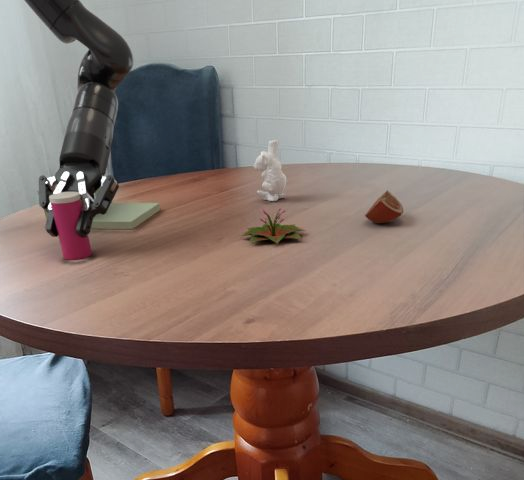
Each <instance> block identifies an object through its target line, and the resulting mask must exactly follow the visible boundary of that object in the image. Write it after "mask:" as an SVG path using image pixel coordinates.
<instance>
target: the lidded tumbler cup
mask: <svg viewBox="0 0 524 480" xmlns="http://www.w3.org/2000/svg"><path fill="white" fill-rule="evenodd" d="M49 200H50V202H51V207H52V211H53V215H54V219H55V223H56V228H57V232H58V236H57V237H58V240H59V243H60V249H61V253H62V257H63V259H65V260H74V261H75V260H81V259H85V258H88V257H90V256H91V255H92V254H93V251H92V248H91V241H90V238H89V234H87V237H86V238H82V237H80V236H79V235H78V234H77V233H76V227H77V223H78V219H79V214H80V211H83V209H82V204H81V199H80V193H79V192H61V193H56V194H53V195H50V196H49Z"/></svg>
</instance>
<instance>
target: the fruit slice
mask: <svg viewBox="0 0 524 480" xmlns="http://www.w3.org/2000/svg"><path fill="white" fill-rule="evenodd" d="M403 214H404V206H403V204H402V203H401V202H400V201H399V200H398V199H397V198H396V196H394V195H393V194H392V193H391V192H390V191H389V190H388V189H387V190H386V191H384V193H383V194H382V195H380V196H379V197H378V198H377V199H376V200H375V202H374V203H373V204H372V205H371V207H370V208H369V209H368V211H366V213H365V215H364V216H365V218H367V220H369V221H370V222H372V223H374V224H386V223H389V222H393V221H394V220H396V219H397V218H400V217H401V216H402V215H403Z"/></svg>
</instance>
